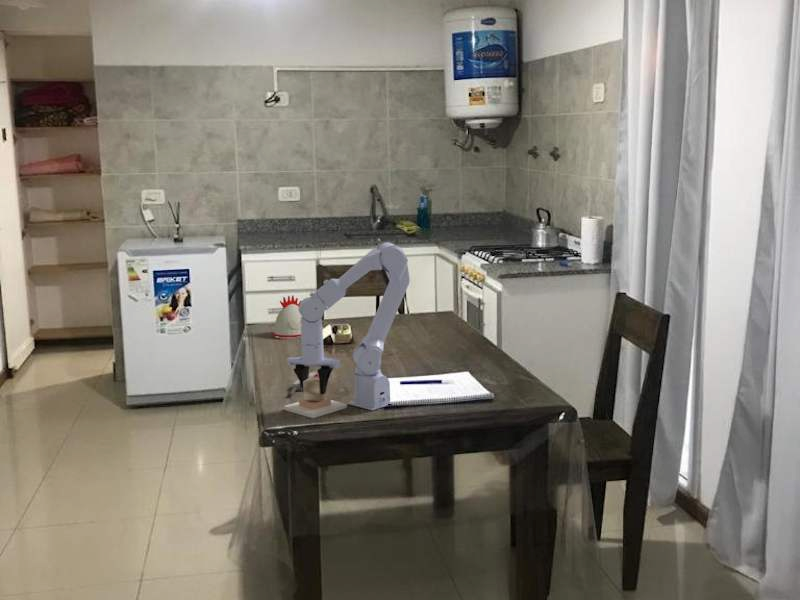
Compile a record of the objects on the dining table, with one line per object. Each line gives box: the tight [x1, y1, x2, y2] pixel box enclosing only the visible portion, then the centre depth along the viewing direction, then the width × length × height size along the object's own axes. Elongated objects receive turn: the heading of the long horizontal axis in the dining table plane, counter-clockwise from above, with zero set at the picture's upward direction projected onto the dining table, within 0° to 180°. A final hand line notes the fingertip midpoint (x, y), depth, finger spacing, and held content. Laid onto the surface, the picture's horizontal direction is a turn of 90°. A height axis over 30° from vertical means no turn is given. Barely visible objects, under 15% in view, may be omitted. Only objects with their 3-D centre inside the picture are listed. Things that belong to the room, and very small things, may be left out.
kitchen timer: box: [273, 295, 303, 337], centre depth 342 cm, size 14×14×15 cm
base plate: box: [282, 397, 348, 419], centre depth 248 cm, size 12×12×2 cm
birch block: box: [302, 377, 327, 401], centre depth 248 cm, size 4×4×5 cm
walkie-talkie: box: [288, 370, 319, 397], centre depth 269 cm, size 9×4×20 cm
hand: (314, 392), depth 248 cm, fingers closed on birch block, 4 cm apart
